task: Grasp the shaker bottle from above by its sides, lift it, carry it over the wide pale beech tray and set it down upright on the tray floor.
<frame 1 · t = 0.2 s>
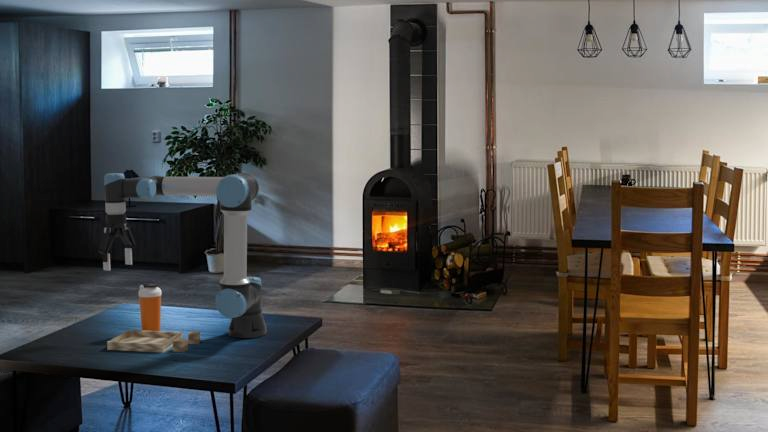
hand: (118, 267, 329), 28 cm above the table, fingers open, 13 cm apart
tray: (145, 344, 321), on the table
shaker bottle: (151, 334, 338), on the table
oak block b: (180, 350, 314), on the table
oak block a: (194, 342, 325), on the table
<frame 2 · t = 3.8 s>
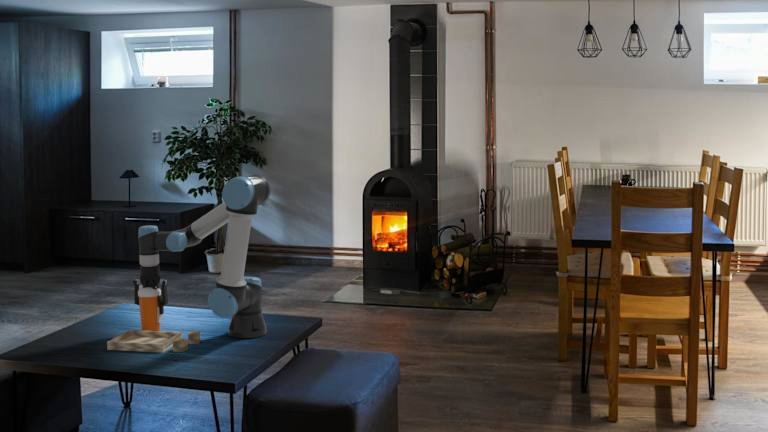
hand: (152, 321, 337), 5 cm above the table, fingers open, 6 cm apart
shaker bottle: (151, 333, 338), on the table, touching gripper, hand
everything else where it was.
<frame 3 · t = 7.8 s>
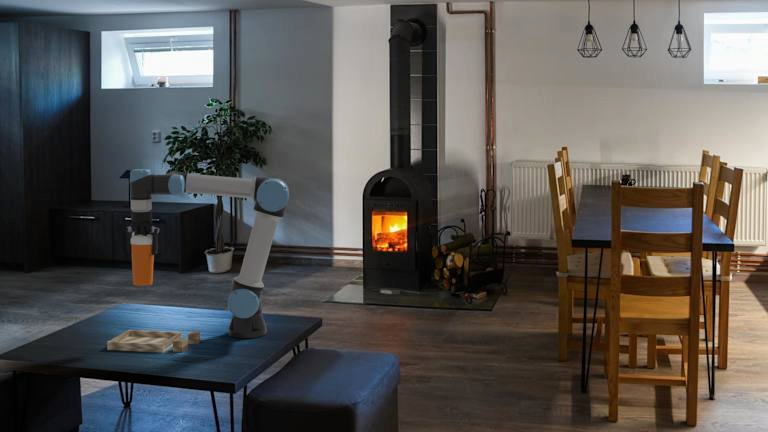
hand: (143, 272, 318), 28 cm above the table, fingers open, 4 cm apart
shaker bottle: (142, 284, 319), point 23 cm above the table, touching hand
everything else where it was.
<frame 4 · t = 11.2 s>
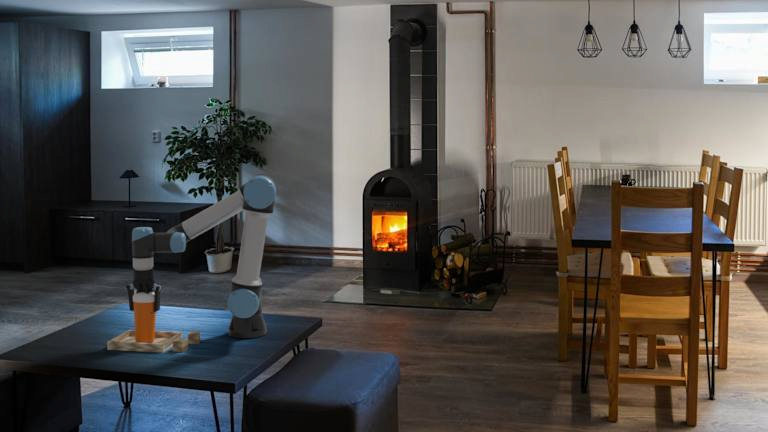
hand: (145, 329, 321), 6 cm above the table, fingers open, 4 cm apart
shaker bottle: (145, 341, 321), point 1 cm above the table, touching hand
everything else where it was.
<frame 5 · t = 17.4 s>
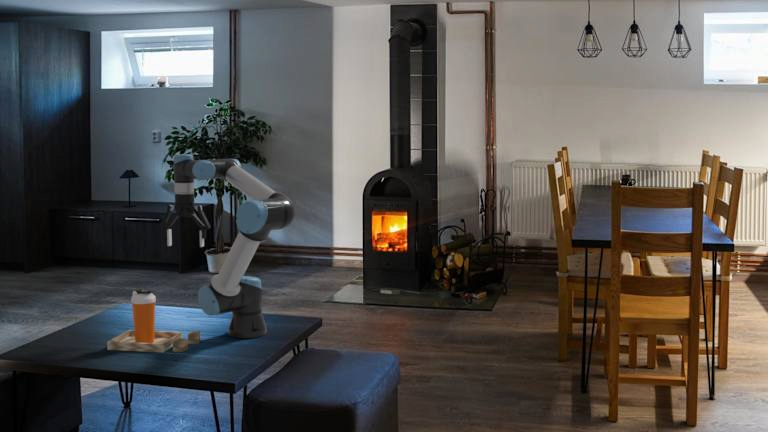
hand: (185, 246, 338), 35 cm above the table, fingers open, 13 cm apart
shaker bottle: (144, 342, 321), point 1 cm above the table, touching tray
everything else where it was.
at the end: shaker bottle inside the target area on the tray (0.3 cm from its centre), point 0.8 cm above the tray's base; shaker bottle tilted 0°; the gripper is holding nothing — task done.
